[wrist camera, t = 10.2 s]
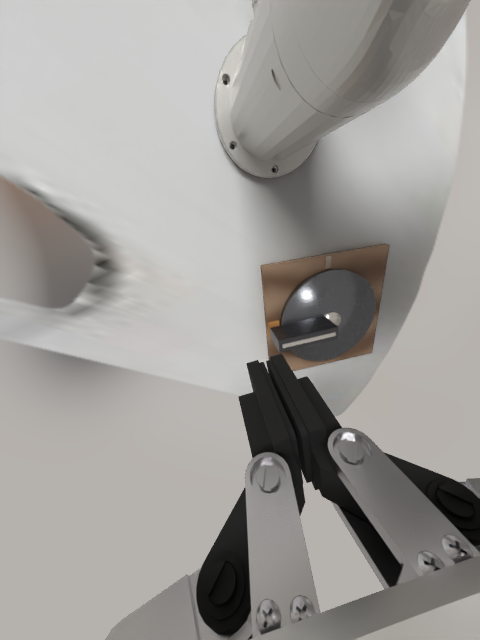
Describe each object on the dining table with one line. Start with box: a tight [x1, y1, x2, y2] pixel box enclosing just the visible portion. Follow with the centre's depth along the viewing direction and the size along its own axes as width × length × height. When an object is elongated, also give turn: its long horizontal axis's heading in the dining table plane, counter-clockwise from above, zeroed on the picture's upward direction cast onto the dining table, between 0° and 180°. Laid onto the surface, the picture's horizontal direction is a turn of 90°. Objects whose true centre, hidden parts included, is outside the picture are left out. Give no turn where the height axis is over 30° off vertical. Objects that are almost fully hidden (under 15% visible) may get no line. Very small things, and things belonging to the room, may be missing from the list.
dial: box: [270, 269, 376, 361], centre depth 35 cm, size 18×16×5 cm
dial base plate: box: [261, 244, 389, 371], centre depth 38 cm, size 20×20×1 cm
